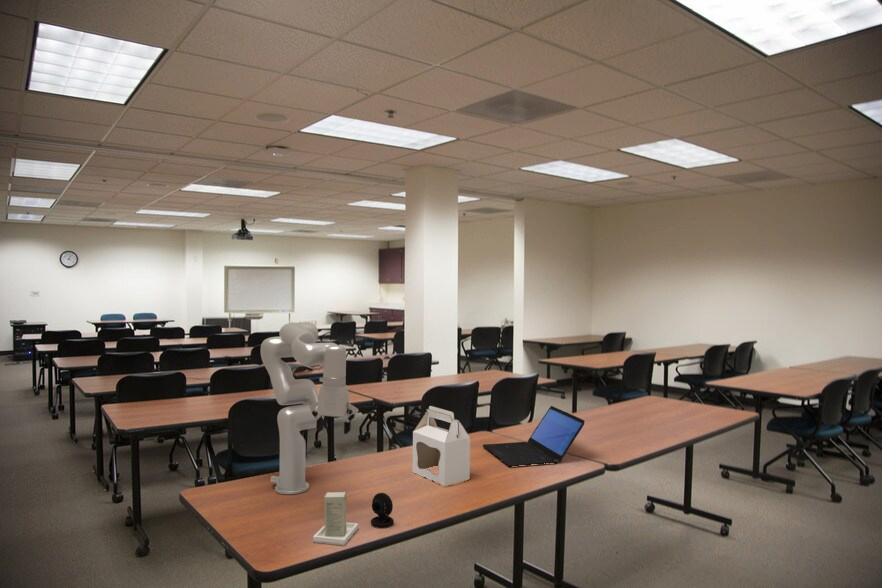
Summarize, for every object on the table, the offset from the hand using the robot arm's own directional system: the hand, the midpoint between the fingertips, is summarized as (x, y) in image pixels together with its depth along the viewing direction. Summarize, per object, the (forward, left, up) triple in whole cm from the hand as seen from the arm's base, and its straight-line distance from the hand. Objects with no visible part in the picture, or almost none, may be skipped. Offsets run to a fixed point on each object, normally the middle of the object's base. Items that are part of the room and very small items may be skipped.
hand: (333, 431), depth 189 cm
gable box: (+28, +46, -28) cm, 61 cm away
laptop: (+63, +87, -29) cm, 112 cm away
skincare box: (+8, -16, -28) cm, 32 cm away
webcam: (+19, -4, -28) cm, 34 cm away
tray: (+8, -16, -28) cm, 33 cm away
